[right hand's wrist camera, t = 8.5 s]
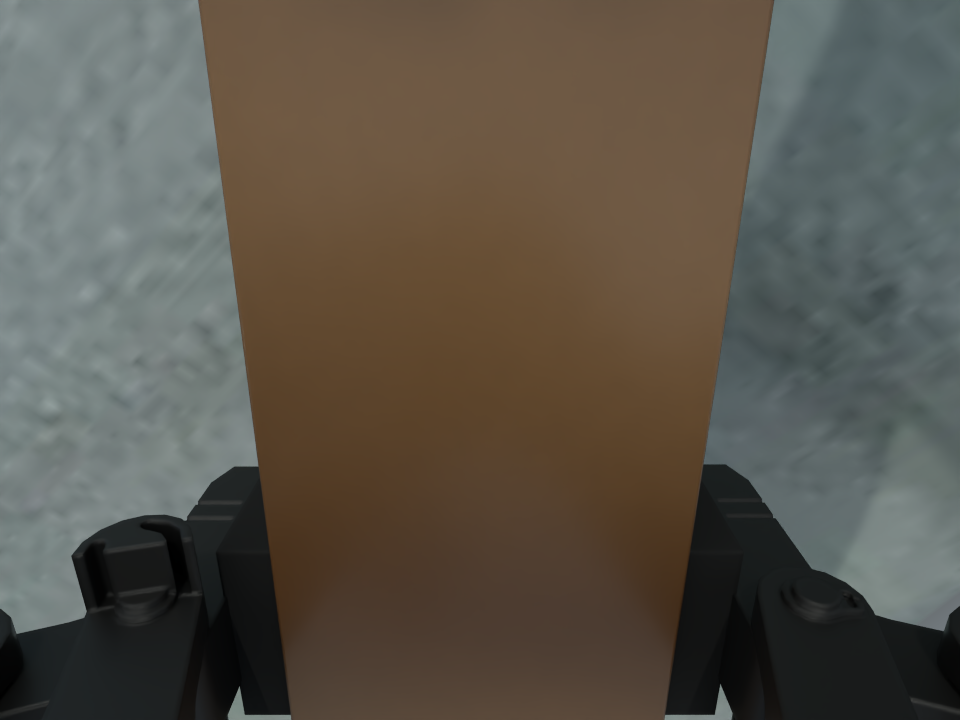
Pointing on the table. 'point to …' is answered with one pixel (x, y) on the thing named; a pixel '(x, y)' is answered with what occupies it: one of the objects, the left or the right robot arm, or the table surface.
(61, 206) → the table surface
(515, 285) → the post
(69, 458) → the table surface
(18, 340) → the table surface
